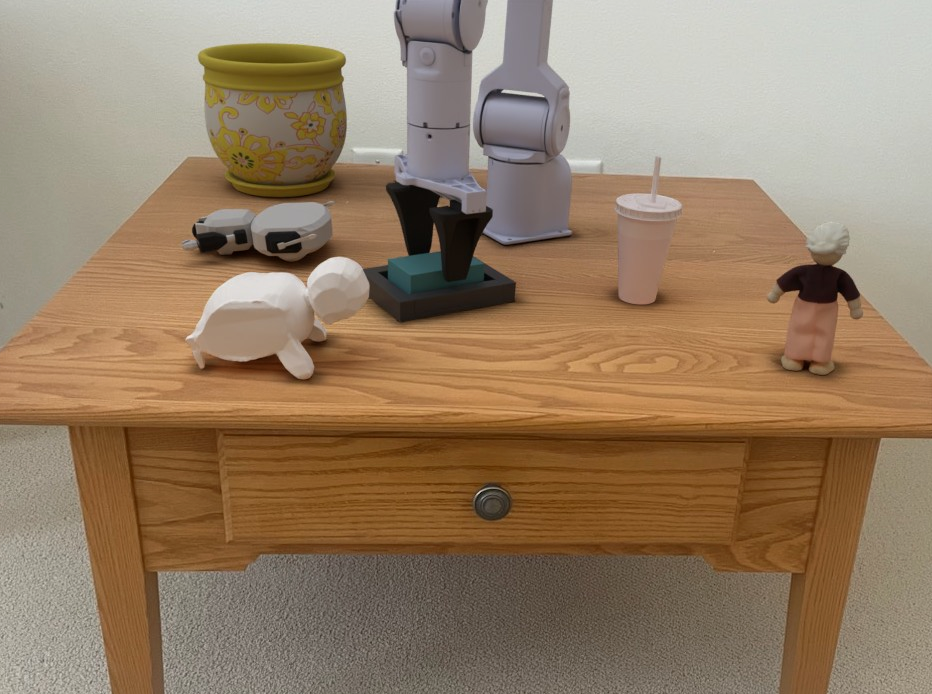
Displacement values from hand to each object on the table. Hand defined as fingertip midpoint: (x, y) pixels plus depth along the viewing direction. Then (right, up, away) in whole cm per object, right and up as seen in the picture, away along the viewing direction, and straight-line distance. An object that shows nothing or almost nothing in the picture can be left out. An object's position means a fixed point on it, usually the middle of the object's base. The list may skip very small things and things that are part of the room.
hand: (436, 267), depth 93 cm
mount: (0, -3, +1) cm, 3 cm away
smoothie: (+20, -3, +3) cm, 20 cm away
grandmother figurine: (+32, -11, -10) cm, 35 cm away
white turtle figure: (-12, -10, -12) cm, 20 cm away
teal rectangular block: (0, -2, +1) cm, 2 cm away
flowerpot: (-22, +17, +34) cm, 44 cm away
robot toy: (-19, +3, +11) cm, 22 cm away
